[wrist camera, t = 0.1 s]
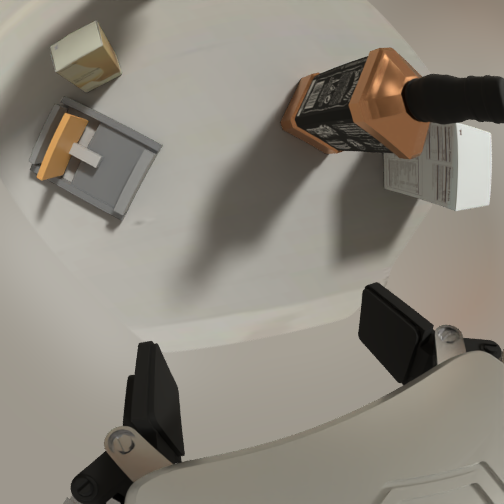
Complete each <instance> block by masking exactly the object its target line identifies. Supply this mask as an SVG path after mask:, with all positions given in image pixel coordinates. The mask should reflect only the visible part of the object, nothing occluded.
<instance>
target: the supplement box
mask: <svg viewBox="0 0 504 504" xmlns="http://www.w3.org/2000/svg"><path fill="white" fill-rule="evenodd" d="M491 145H492V144H491V133H489V132H487V131H484V130H480V129H477V128H474V127H471V126H467V125H464V124H460V123H452V124H446V125H441V124H437V123H431V126H430V129H429V133H428V136H427V139H426V142H425V145H424V148H423V151H422V153H421V155H420V156H418V157H415V158H413V159H410V160H409V159H402V158H399V157H398V156H396V155H395V154H393V153H384V189H387V190H391V191H394V192H398V193H402V194H405V195H408V196H412V197H415V198H418V199H422V200H425V201H428V202H431V203H434V204H437V205H440V206H443V207H446V208H449V209H451V210H454V211H460V210H465V209H471V208H477V207H482V206H487V205H489V203H490V190H491V171H492V146H491Z"/></svg>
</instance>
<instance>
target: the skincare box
mask: <svg viewBox="0 0 504 504" xmlns="http://www.w3.org/2000/svg"><path fill="white" fill-rule="evenodd" d="M50 51H51V57H52V62H53V66H54V69H55V72H56V73H58V74H59V75H61V76H62V77H64V78H65V79H67V80H68V81H70V82H71V83H72V84H74V85H75V86H77V87H78V88H80V89H81V90H83V91H84V92H86V93H87V92H89V91H91V90H93V89H95V88H97V87H98V86H100V85H102V84H104V83H106V82H108V81H110V80H112V79H114V78H116V77H118V76H120V75H121V74H122V73H121V69H120V66H119V62H118V59H117V56H116V54H115V52H114V50H113V48H112V47H111V45H110V43H109V41H108V40H107V38H106V36H105V34H104V32H103V31H102V29H101V27H100V25H99V23H98V22H97V21H94V22H92V23H90V24H88V25H86V26H84V27H82V28H80V29H78V30H76V31H74V32H72V33H71V34H69V35H68V36H66V37H64V38H63V39H61V40H59V41H58V42H56V43H55V44H53V45H51V46H50Z"/></svg>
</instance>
